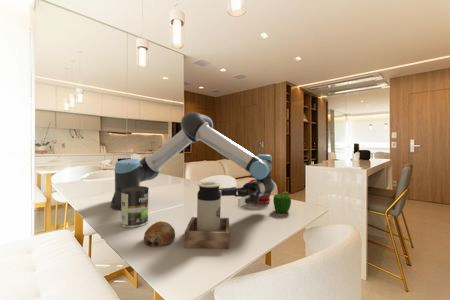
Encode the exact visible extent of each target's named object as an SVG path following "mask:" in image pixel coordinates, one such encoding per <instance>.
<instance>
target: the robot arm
mask: <svg viewBox="0 0 450 300" xmlns="http://www.w3.org/2000/svg"><path fill="white" fill-rule="evenodd" d="M180 127H181V130H179V132H177V133H176V134H175V135H174V136H172V137H171V138H170V139H169V140H167V141H166V142H165V143H164V144H163V145H161V147H159V148H158V149H157V150H155V152H153V153H152V154H147V155H145V156H144V157H143V158H142V159H141V160H140V159H138V158H128V159H121V160H119V161H116V162H115V165H114V166H115V168H114V193H113V196H112V198H111V202H110V208H112V209H113V210H114V209H115V210H121V189H123V188H126V187H133V186H141V185H140V183H142V182H146V181H150V180H154V179H155V178H157V177H158V176H159V175H160V172H161V171H162V169H163V166H164V165H166V164H167V163H168V162H170V160H172V159H173V158H174V157H176V156H177V155H179V153H181V152H182V151H183V150H184V149H185V148H187V147H188V146H189V145H191V144H195V143H198V142H199V141H201V142H202V143H204V144H206V145H207V146H209V147H210V148H212V149H213V150H215V151H216V152H217V153H219V154H221V155H222V156H224V157H226V158H227V159H228V160H230V161H231V162H233V163H234V164H236V166H237V165H238V167H240V168H242V169H244V171H246V172H248V173H249V174H250V176H251V177H252V178H254V179H256V181H253V182H249V181H248V182H246V183H244V184H243V186H240V187H236V186H233V187H225V188H224V187H223V188H219V191H220V193H221V197H229V196H234V197H236V198H237V197H238V199H237V206H238V207H242V206H245V205H247V204H253V203H254V202H255V203H254V204H257V203H259V198H261V196H263V195H267V194H269V193H271V194H272V192H273V191H274V190H275V186H276V184H275V181H274V180H273V179H272V177H273V176H272V170H273V157H272V155H271V154H257V155H255V154H253V153H252V152H250V151H249V150H247V149H245V148H244V147H243V146H241V145H239V144H238V143H236V142H235V141H233V140H232V139H230V138H228V137H227V136H225V135H224V134H223V133H220V132H219V131H217V130H216V129H214V123H213V120H212V119H211V118H210V117H209V116H207V115H206V114H202V113H199V112H196V111H190V112H187V113H185V114H184V115H183V116H182V118H181V121H180Z"/></svg>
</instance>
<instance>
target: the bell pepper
mask: <svg viewBox="0 0 450 300" xmlns="http://www.w3.org/2000/svg"><path fill="white" fill-rule="evenodd" d="M288 193H289V192H288V191H283V192H282V193H281V194H274V196H273V207H274V210H275V212H276V213H280V214H282V213H283V214H284V213H288V212H289V210H290V209H291V206H292V205H291V204H292V198H291V196H290V195H287V194H288Z"/></svg>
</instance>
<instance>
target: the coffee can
mask: <svg viewBox="0 0 450 300" xmlns="http://www.w3.org/2000/svg"><path fill="white" fill-rule="evenodd" d="M120 210H121V212H120V213H121V216H120V219H121V221H120V222H121V223H120V225H121V227H123V228H129V229H130V228H140V227H143V226H145V225H147V224H148V223H149V187H148V186H143V185H142V186H141V185H140V186H133V187H126V188H123V189H121V209H120Z"/></svg>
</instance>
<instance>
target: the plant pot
mask: <svg viewBox="0 0 450 300" xmlns="http://www.w3.org/2000/svg"><path fill="white" fill-rule="evenodd" d="M253 181H256V179H255V178H254V179H249V180H248V183H249V182H253ZM271 195H272V192H271V193H269V194H267V195H263V196H261V198H259V203H255V202H253V203H254V204H258V205H259V204H260V205H265V204H268V203H270V202H271V198H270V197H271Z"/></svg>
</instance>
